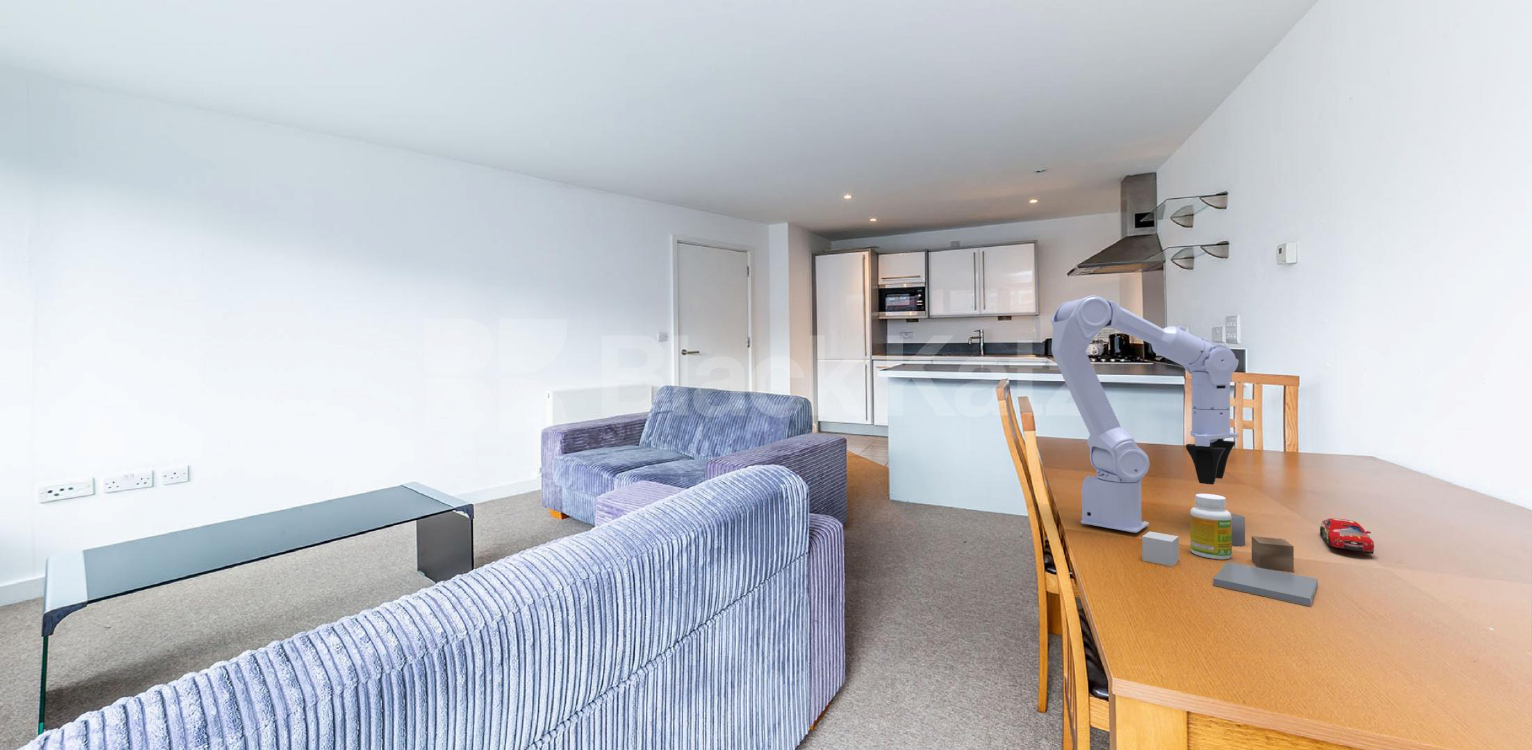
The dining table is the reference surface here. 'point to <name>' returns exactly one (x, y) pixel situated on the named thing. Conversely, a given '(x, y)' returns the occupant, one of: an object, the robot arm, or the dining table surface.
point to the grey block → (1160, 548)
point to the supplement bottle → (1211, 527)
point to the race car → (1346, 535)
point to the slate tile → (1267, 583)
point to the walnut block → (1273, 554)
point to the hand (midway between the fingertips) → (1211, 480)
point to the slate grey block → (1238, 530)
